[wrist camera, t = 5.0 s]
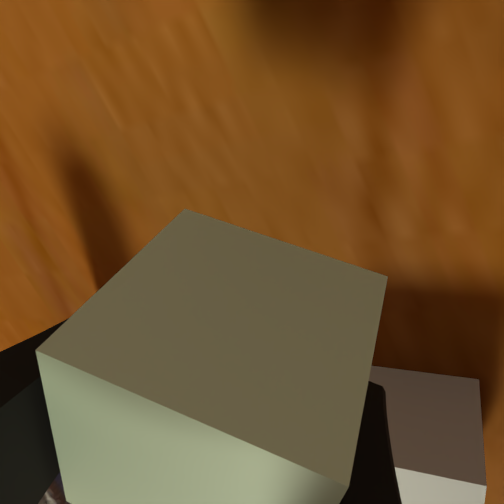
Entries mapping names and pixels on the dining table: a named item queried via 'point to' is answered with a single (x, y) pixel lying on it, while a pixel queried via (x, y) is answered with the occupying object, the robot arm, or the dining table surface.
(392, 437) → the grey cube
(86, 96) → the dining table surface
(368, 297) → the green cube
